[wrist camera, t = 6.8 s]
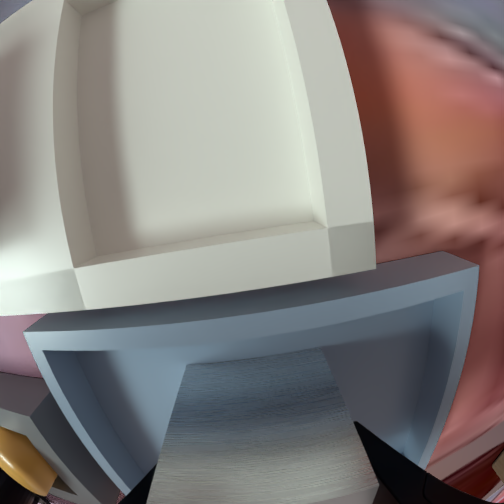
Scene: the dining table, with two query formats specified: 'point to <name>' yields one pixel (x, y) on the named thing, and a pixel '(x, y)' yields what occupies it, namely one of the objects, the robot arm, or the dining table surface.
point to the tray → (263, 344)
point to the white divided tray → (175, 152)
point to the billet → (262, 436)
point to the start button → (25, 462)
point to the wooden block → (499, 466)
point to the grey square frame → (54, 440)
